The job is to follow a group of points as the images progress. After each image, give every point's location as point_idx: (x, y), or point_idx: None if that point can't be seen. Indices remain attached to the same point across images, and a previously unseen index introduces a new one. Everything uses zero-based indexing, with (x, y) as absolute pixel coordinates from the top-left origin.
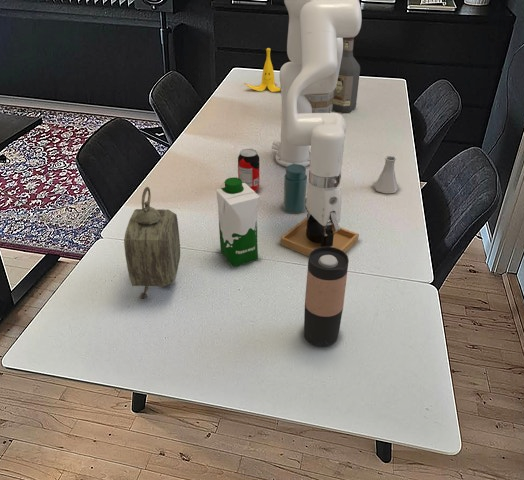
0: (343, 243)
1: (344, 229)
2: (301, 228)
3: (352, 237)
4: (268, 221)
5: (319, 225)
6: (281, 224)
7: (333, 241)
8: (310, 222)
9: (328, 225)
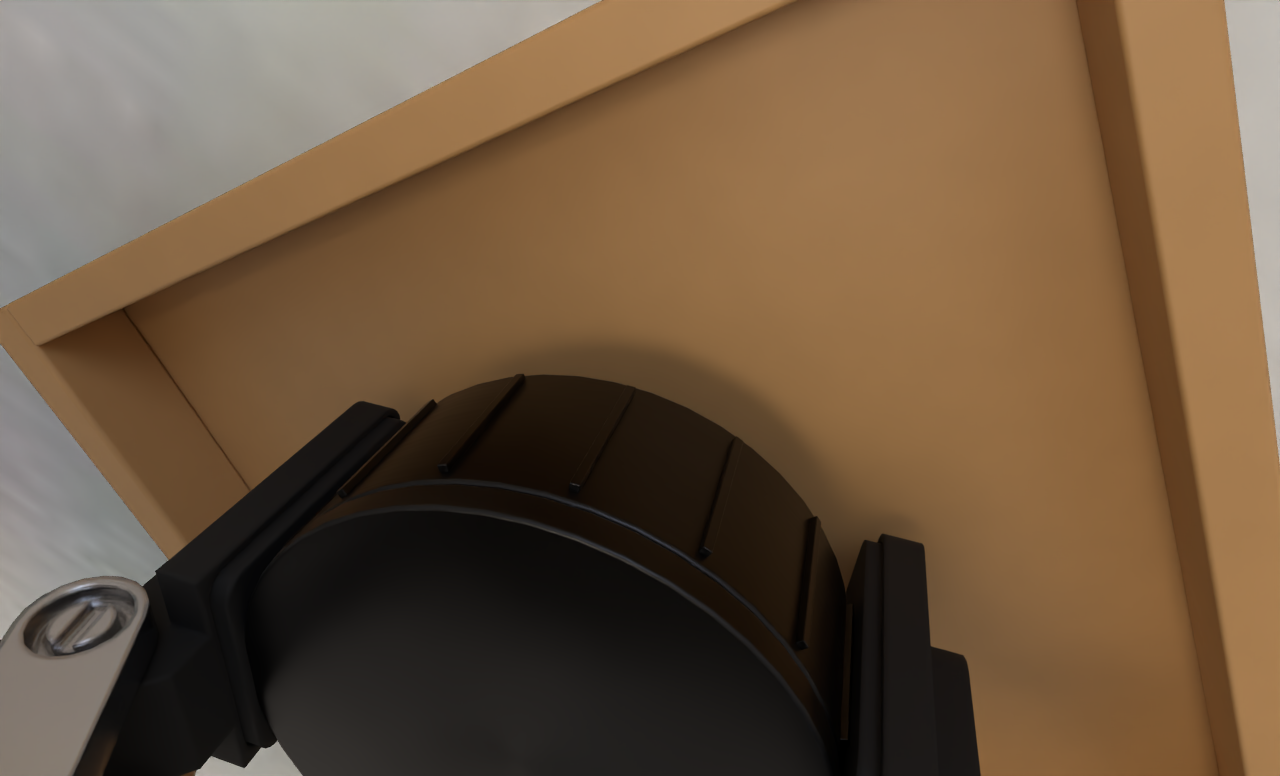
0: (972, 260)
1: (661, 10)
2: (252, 486)
3: (1148, 88)
4: (44, 591)
5: (458, 735)
6: (111, 542)
7: (777, 365)
8: (302, 756)
9: (538, 616)
